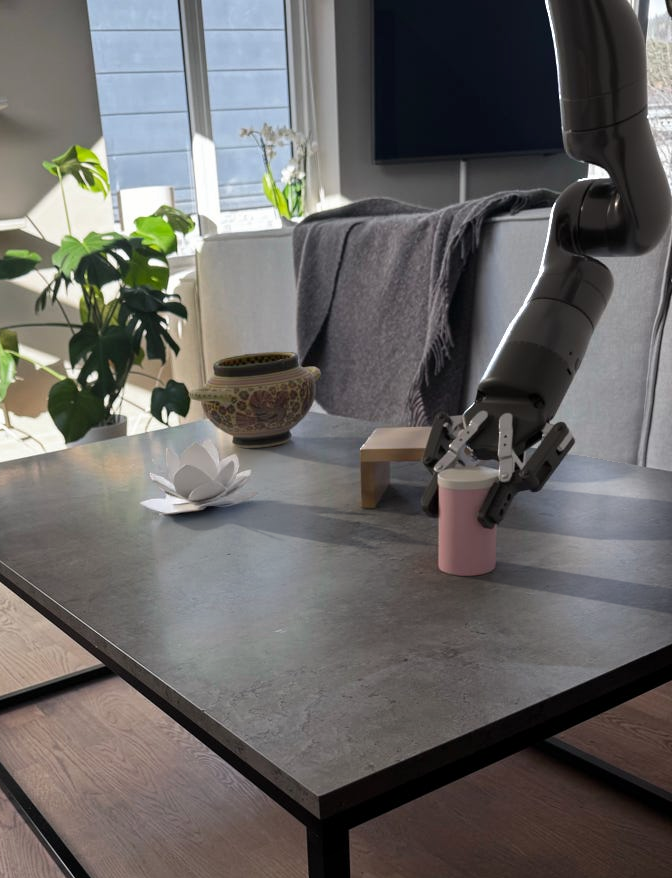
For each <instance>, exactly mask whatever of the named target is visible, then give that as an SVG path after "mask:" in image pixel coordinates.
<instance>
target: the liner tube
mask: <svg viewBox="0 0 672 878" xmlns="http://www.w3.org/2000/svg"><path fill="white" fill-rule="evenodd" d="M494 482H496V483H498V482H499V469H496V468H493V467H488V466H485V467H482V466H464V467H455V468H452V467H450V469H446V470H443V471H441V472H440V473H439V474H438V485H439V517H438V569H439V570H440V571H441V572H442V573H445V574H448V575H453V576H459V577H472V576H480V575H485V574H488V573H490V572H492V571H494V570H495V569H496V564H497V563H496V562H497V532H498V531H497V530H498V524H495V526H494V528H493V529H487V528H483V526H482V525H481V524H480V523H479V521H478V520H477V515H478V513H479V511H480V509H481V507H482V505H483V503H484V501H485V499H486V497H487V495H488V493H489V491H490V489H491V487H492V485H493V484H494Z"/></svg>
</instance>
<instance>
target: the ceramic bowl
mask: <svg viewBox="0 0 672 878" xmlns="http://www.w3.org/2000/svg"><path fill="white" fill-rule="evenodd" d="M212 369H213V375H212V376H211V377H210V378H209V379H208V380H207V381H206V382H205V384H204V385H203V387H200V388H195V389H192V390H190V391H189V392H188V397H189V398H190V399H191V400H194V401H197V402H201V408H202V410H203V412H204V414H205V416H206V418H207V419H208V420H209V421H210V422H211V423H212V424H213V426H215V427H216V428H217V429H218V430H220V431H221V432H224V433H225V434H227V435H229V436H231V437H232V441H231V443H232V444H233V446H235V447H238V448H241V449H242V448H243V449H258V448H259V449H260V448H261V449H262V448H270V447H274V446H280V445H283V444H286V443H287V442H289V441H290V440H291V439H292V433H291V430H292V429H293V428H295V427H296V426H297V425H298V424H299V423H300V422H301V421H302V420H304V418H305V417H306V415H307V414H308V413H309V412H310V410H311V408H312V406H313V404H314V402H315V398H316V393H317V385H316V382H317V381H318V380H319V378H320V377H321V375H322V372H321V369H320V368H318V367H316V366H305V367H303V366H301V365H300V363H299V354H298V353H297V352H293V351H270V352H268V351H267V352H258V353H257V352H256V353H244V354H242V355H235V356H230V357H225V358H221V359H219V360H217V361H215V362H214V363H213V365H212Z"/></svg>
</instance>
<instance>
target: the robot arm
mask: <svg viewBox="0 0 672 878" xmlns="http://www.w3.org/2000/svg"><path fill="white" fill-rule="evenodd" d="M544 2H545V7H546V11H547V15H548V20H549V25H550V29H551V35H552V40H553V47H554V54H555V61H556V62H555V63H556V70H557V83H558V84H557V85H558V95H559V107H560V109H559V110H560V119H561V122H560V123H561V133H562V143H563V148H564V152H565V154H566V155H567V156H568V157H569V159H572V160H573V161H575V162H580V163H583V164H588V165H592V166H595V167H599V168H600V169H602V170H604V171H605V172H606V173H607V175H608V176H603V177H589V178H588V177H587V178H582V179H578V180H575V181H574V182H573V183H571V184H570V185H568V186H567V187H566V188H564V190H562V192H561V193H560V194H559V195H558V197H557V198H556V199H555V201H554V203H553V205H552V208H551V212H550V214H549V215H550V216H549V222H548V227H547V228H548V229H547V234H546V240H545V245H544V249H543V254H542V257H541V258H542V259H541V262H540V266H539V271H538V274H537V277H536V278H535V279H534V282H533V284H532V286H531V288H530V290H529V292H528V293H527V295H526V298H525V300H524V302H523V303H522V306H521V307H520V308H519V310H518V312H517V314H516V315H515V317H514V318H513V319H512V321H511V322H510V324H509V325H508V327H507V329H506V331H505V333H504V335H503V337H502V338H501V341H500V342H499V344H498V346H497V348H496V349H495V352H494V354H493V357H492V358H491V360H490V362H489V363H488V366H487V368H486V370H485V372H484V373H483V375H482V377H481V379H480V381H479V383H478V386H477V388H476V395H475V399H474V402H473V403H472V405H470V407H468V408H467V409H466V410H465V411H464V413H463V414H460V415H450V416H449V414H448V412H447V411H445V410H441V411H439V412H438V413H436V414H435V416H434V419H433V422H432V425H431V427H432V429H431V432H430V435H429V438H428V441H427V444H426V447H425V451H424V454H423V457H422V461H421V463H422V464H423V466H424V467H425V468H426V469H427V470H428V472H429V473H430V474H431V476H432V477H431V479H430V481H429V483H428V485H427V487H426V489H425V491H424V493H423V494H422V497H421V500H420V505H421V509H422V511H423V512H424V513H425V514H426V516H427V517H428V518H431V519H439V485H438V474H439V473H440V472H441V471H443V470H446V469H450V468H455V467H464V466H476V465H477V464H478V463H479V462H480V461H481V460H485V461H491V460H494V461H496V462H498V463H499V464H498V465H499V466H498V471H499V482H498V483H496V482H494V484H493V485H492V487H491V489H490V491H489V493H488V495H487V497H486V499H485V501H484V503H483V505H482V507H481V509H480V511H479V513H478V515H477V520H478V521H479V523H480V524H481V525H482V526H483V528H487V529H493V528H494V526H495V524H497V525H499V524H500V523H501V522H502V521H503V520H504V518H505V516H506V514H507V512H508V510H509V508H510V506H511V504H512V502H513V500H514V498H515V496H517V495H519V494H520V493H521V492H525V491H530V492H531V493H538V492H540V491H541V490H542V489H543V488H544V486H545V485H546V483H547V482H548V481H549V479H550V478H551V477H552V475H553V474H554V473H555V472H556V470H557V468H558V467H559V465H560V464H561V463H562V461H563V460H565V457H566V456H567V454H568V453H569V452H570V451H571V449H572V448H573V446H574V445H575V444H576V439H575V437H574V435H573V433H572V432H571V430H570V428H569V427H568V425H567V424H566V423H565V421H558V422H555V424H553V423H550V422H551V421H552V420H554V418H555V416H556V414H557V412H558V410H559V409H560V407H561V404H562V403H563V401H564V399H565V397H566V394H567V393H568V391H569V389H570V387H571V384H572V382H573V380H575V379H574V378H575V377H576V374H577V372H578V370H579V369H580V367H581V365H582V362H583V361H584V358H585V356H586V354H587V350H588V347H589V344H590V342H591V338H592V336H593V334H594V333H595V331H596V329H597V326H598V324H599V322H600V320H601V319H602V317H603V314H604V312H605V311H606V309H607V306H608V304H609V302H610V301H611V299H612V296H613V293H614V289H615V279H614V276H613V273H612V271H611V269H610V268H609V267H608V266H607V265H606V264H604V263H603V262H602V261H601V260H599V259H597V258H636V257H642V256H643V257H644V256H645V255H648V254H650V253H651V252H653V251H654V250H655V249H656V248H657V247H658V246H659V245H660V244H661V243H662V241H663V240H664V238H665V236H666V235H667V233H668V230H669V229H670V225H671V221H672V192H671V187H670V183H669V180H668V177H667V174H666V171H665V169H664V166H663V163H662V160H661V157H660V154H659V151H658V147H657V143H656V140H655V137H654V134H653V130H652V126H651V123H650V118H649V105H648V103H649V97H648V93H649V92H648V62H647V61H648V60H647V57H648V55H647V47H646V41H645V36H644V32H643V28H642V26H641V23H640V20H639V18H638V16H637V14H636V11H635V10H634V8H633V6H632V5H631V3H630V2H629V0H544ZM664 3H665V8H666V11H667V14H668V16H669V19H670V21H672V0H664ZM462 429H463V430H464V431H463V432H462V433H461V434H460V435H459V436H457V435H458V433H459V432H460V431H461V430H462ZM453 440H454V441H453ZM539 442H540V443H539ZM538 443H539V444H538ZM536 444H538V446H537V448H536V449H535V450H534V452H533V453H532V455H530V457H529V458H528V460H527V451H528V450H529V449H531V448H532V447H533V446H535V445H536ZM466 446H467V447H468V448H469V450H470V451H471V453H470V454H469V455H467V453H466V452H465V448H466ZM457 460H458V461H457Z"/></svg>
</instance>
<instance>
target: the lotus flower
mask: <svg viewBox="0 0 672 878" xmlns="http://www.w3.org/2000/svg"><path fill="white" fill-rule="evenodd" d="M152 462H153V463H154V465H156V467H158V469H159V470H160V471H161V473H162V474H163V475H164V476H165V477H166V478H165V477H163V476H160V475H158V474H156V473H153V472H150V473H149V476H150V479H151V480H152V483H153V484H154V485H155V486H156V487H157V488H158V489H159V490H160V491H161V492H163V493H164V494H165V498H150V499H146V500H143V501H140V505H141V506H142V507H144V508H146V509H149V510H151V511H154V512H157V513H158V515H159V516H164V515H176V514H180V513H189V512H198V511H202V510H205V509H206V508H207V507H210V506H211V507H212V506H213V507H219V508H227V507H230V506H235V505H237V504H241V503H243V502H245V501H248V500H249V499H251V498H254V497H255V496H256V495H258V494H259V493H260V491H259V490H242V491H240V489H241V488H243V486H245V485H246V483H248V481H249V479H250V478H251V474H252V469H247V470H243V471H241V472H239V470H240V460H239V458H238V455H237V453H233V454H231V455H227V456H226V457H224V458H223V459H221V456H220V453H219V449H218V447H217V446H216V444H215V443H214V442H213V441H212V440H211V439H210V438H208V437H207V438H206V439H204V441H203V442H201V443H199V442H198V441H195V442H193V443H192V444H190V445H189V446H188V447H186V448H185V449H184V451H182V454H181V456H180V457H179V455H178V454H177V453H176V452H175V451H174V450H172V449H171V448H170V447H166V449H165V465H166V470H167V474H166V473H165V471H164V470H163V468H161V466H160V465H158V463H157V462H156V461H155V459H152Z"/></svg>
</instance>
